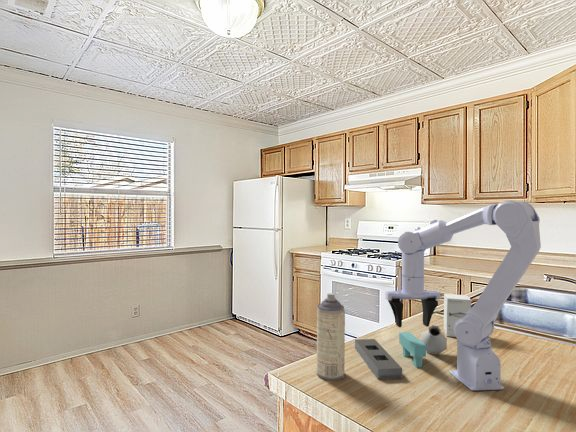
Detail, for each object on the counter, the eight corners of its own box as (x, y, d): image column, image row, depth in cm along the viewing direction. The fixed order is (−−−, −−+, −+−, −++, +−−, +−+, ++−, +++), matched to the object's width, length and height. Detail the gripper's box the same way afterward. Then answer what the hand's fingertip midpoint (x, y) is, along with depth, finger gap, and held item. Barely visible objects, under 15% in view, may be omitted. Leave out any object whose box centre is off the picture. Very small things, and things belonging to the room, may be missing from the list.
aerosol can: (349, 377, 88) (350, 295, 87) (325, 382, 85) (326, 298, 84) (334, 366, 94) (335, 289, 94) (311, 371, 91) (312, 292, 91)
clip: (425, 368, 93) (426, 345, 93) (414, 368, 93) (414, 345, 92) (409, 353, 103) (409, 332, 103) (399, 353, 103) (399, 332, 102)
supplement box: (446, 336, 116) (446, 297, 116) (443, 329, 123) (443, 293, 123) (471, 339, 114) (471, 299, 114) (466, 331, 121) (467, 294, 121)
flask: (442, 326, 106) (443, 315, 98) (451, 351, 101) (453, 342, 94) (417, 331, 107) (416, 320, 99) (425, 356, 103) (425, 347, 95)
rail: (402, 378, 87) (402, 368, 87) (377, 379, 87) (378, 369, 86) (374, 347, 107) (374, 339, 107) (354, 348, 106) (354, 339, 106)
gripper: (431, 273, 102) (430, 320, 102) (381, 273, 101) (381, 321, 101) (444, 277, 95) (443, 328, 95) (391, 278, 94) (390, 330, 94)
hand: (412, 325), depth 98 cm, fingers open, 7 cm apart
